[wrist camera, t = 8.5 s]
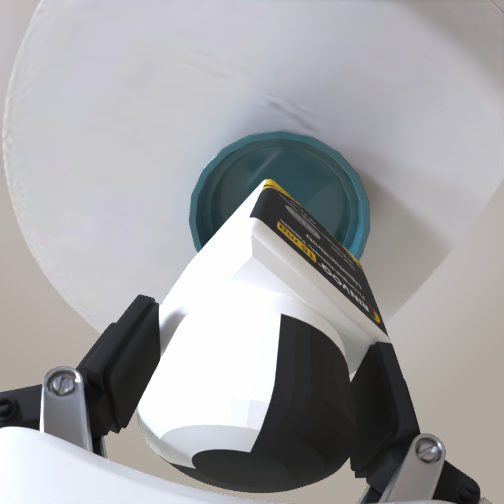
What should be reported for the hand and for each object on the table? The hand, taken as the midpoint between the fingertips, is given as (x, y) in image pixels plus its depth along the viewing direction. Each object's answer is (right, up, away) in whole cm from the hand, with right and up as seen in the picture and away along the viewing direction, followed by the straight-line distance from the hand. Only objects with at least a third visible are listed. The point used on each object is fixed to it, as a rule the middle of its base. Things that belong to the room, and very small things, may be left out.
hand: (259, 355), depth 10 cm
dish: (+2, +8, +17) cm, 19 cm away
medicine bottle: (+1, +3, +7) cm, 7 cm away
